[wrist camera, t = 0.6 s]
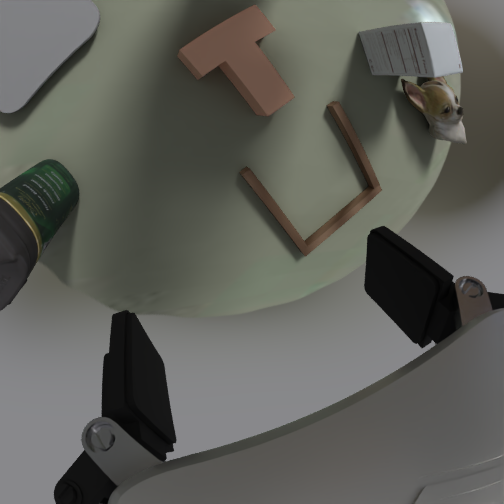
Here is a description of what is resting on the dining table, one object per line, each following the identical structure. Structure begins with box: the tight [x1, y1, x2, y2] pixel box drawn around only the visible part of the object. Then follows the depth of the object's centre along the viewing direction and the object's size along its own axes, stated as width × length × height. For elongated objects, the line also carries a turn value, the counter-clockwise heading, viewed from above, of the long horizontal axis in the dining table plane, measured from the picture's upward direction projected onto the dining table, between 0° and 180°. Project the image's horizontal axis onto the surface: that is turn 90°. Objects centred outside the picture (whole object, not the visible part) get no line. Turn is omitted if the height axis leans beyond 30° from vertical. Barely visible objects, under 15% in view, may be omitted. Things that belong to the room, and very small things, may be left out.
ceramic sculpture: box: [401, 76, 467, 144], centre depth 35 cm, size 11×9×15 cm
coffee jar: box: [0, 159, 79, 310], centre depth 21 cm, size 10×8×19 cm
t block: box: [177, 5, 295, 116], centre depth 28 cm, size 10×12×4 cm
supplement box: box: [359, 22, 463, 78], centre depth 27 cm, size 7×7×13 cm
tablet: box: [0, 0, 100, 113], centre depth 15 cm, size 16×26×2 cm, turn 37°
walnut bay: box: [239, 101, 382, 256], centre depth 39 cm, size 16×16×2 cm
